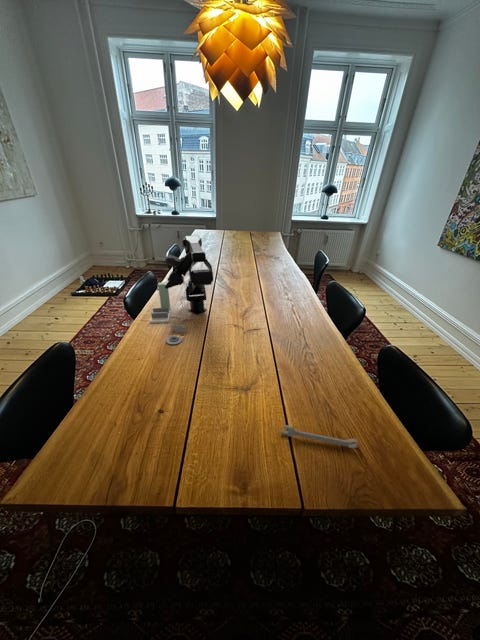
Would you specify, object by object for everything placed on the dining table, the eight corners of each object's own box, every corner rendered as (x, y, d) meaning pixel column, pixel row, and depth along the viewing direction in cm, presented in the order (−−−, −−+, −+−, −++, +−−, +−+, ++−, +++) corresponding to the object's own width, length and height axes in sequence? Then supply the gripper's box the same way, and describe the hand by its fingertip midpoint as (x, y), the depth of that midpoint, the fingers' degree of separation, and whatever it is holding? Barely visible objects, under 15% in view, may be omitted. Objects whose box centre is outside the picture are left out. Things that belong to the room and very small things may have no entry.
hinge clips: (170, 311, 123) (170, 305, 121) (168, 322, 115) (167, 315, 113) (153, 312, 122) (152, 305, 120) (150, 323, 113) (149, 316, 112)
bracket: (163, 345, 101) (162, 337, 99) (172, 331, 109) (171, 324, 107) (179, 346, 100) (178, 339, 98) (187, 332, 109) (186, 325, 107)
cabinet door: (170, 305, 128) (167, 282, 122) (169, 307, 126) (166, 284, 120) (159, 306, 128) (156, 282, 121) (159, 308, 125) (155, 284, 119)
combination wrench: (359, 438, 64) (280, 421, 67) (360, 442, 63) (280, 426, 66) (355, 446, 66) (278, 430, 69) (356, 451, 65) (278, 435, 68)
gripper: (177, 243, 121) (156, 266, 126) (172, 254, 105) (149, 280, 110) (194, 259, 126) (174, 281, 131) (193, 272, 110) (169, 296, 114)
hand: (166, 284), depth 121 cm, fingers open, 9 cm apart
